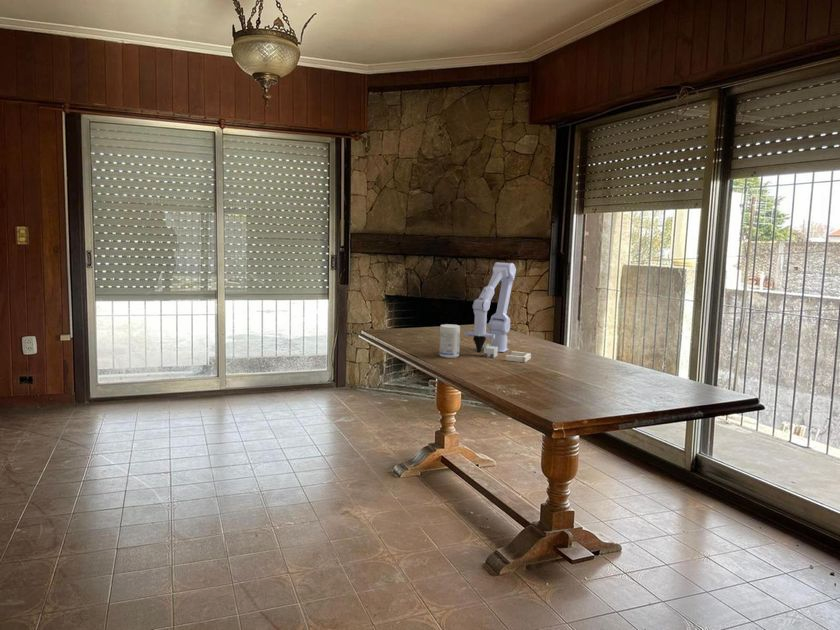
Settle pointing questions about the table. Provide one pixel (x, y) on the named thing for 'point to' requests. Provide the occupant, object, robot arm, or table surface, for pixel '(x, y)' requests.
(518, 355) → the bay
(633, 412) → the table surface
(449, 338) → the supplement tub
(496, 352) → the white box with knobs
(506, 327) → the robot arm
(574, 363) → the table surface
